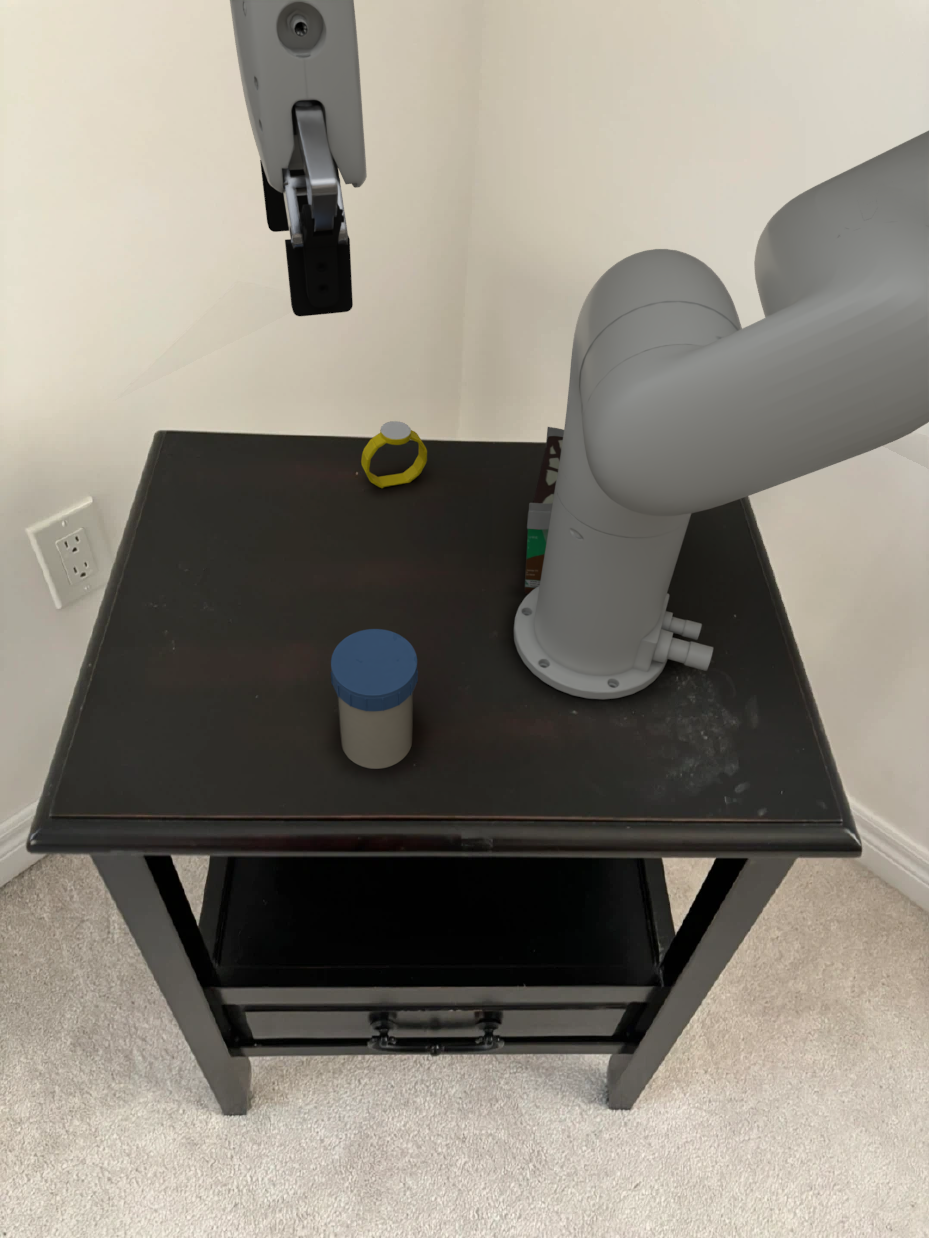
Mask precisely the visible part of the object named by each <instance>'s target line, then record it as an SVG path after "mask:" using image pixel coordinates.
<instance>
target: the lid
mask: <svg viewBox="0 0 929 1238" xmlns="http://www.w3.org/2000/svg"><path fill="white" fill-rule="evenodd" d="M330 669H331V671H330V681H331V686H333V689H334V692H335V693H336V696H337V695H338V697H340V698H341V699H342V700H343V701H344V702H345V703H347V704H348V705H349V706H350V707H351V706H352V707H354V708H357V709H360V710H364V711H384V710H388V709H391V708H393V707H396V706H398V705H400V704H401V703H402V702H404V701H405V700H406V699H407V698H408V697H409V696H410V695H412V692H413V693H414V690H415V688H416V686H417V684H418V680H419V679H418V678H419V670H418V657H417V653H416V650H415V648H414V647H413V645H412V644H411V643H410V642H409V641H408V640H407V639H406V638H405V637H404V636H402V635H400V634H399V633H396V632H394V631H391V630H388V629H381V628H368V629H363V630H359V631H356V632H353V633H351V634H350V635H348V636H346V637H345V638H343V639H342V640H341V641H340V642H339V643H338V644H337V645H336V647H335V648H334V650H333V652H332V654H331V658H330Z"/></svg>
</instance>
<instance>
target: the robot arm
mask: <svg viewBox="0 0 929 1238" xmlns="http://www.w3.org/2000/svg"><path fill="white" fill-rule="evenodd" d="M229 5H230V12H231V21H232V27H233V35H234V44H235V49H236V50H235V51H236V56H237V62H238V68H239V74H240V80H241V86H242V92H243V96H244V101H245V106H246V110H247V116H248V120H249V123H250V128H251V131H252V135H253V138H254V143H255V146H256V149H257V152H258V156H259V162H260V163H259V164H260V172H261V180H262V181H261V182H262V189H263V198H264V207H265V216H266V223H267V226H268V229H269V230H270V231H271V232H273V233H278V232H279V233H280V232H289V238H288V239H284V246H285V257H286V265H287V275H288V286H289V294H290V306H291V310H292V313H293V314H294V316H297V317H309V316H310V317H311V316H319V315H330V314H341V313H348V312H349V311H351V310H352V309H353V305H354V304H353V302H354V301H353V300H354V299H353V281H352V262H351V261H352V259H351V257H352V256H351V240H350V237H349V234H348V225H347V219H346V212H345V207H344V206H345V205H344V198H343V191H342V186H341V178H342V179H343V182H344V185H352V186H353V188H360V187H362V186H363V184H364V183H365V182H366V179H367V177H368V176H367V175H368V173H367V160H366V158H367V157H366V145H365V144H366V143H365V130H364V116H363V115H364V114H363V99H362V86H361V69H360V57H359V43H358V31H357V20H356V11H355V0H229ZM340 176H341V178H340ZM753 261H754V280H755V284H756V288H757V292H758V297H759V301H760V305H761V308H762V311H763V314H764V318H762V319H760V320H757V321H756V322H754V323H751V324H749V325H747V326H745V327H743V326H742V324H741V321H740V317H739V314H738V311H737V309H736V306H735V302H734V301H733V298H732V296H731V294H730V293H729V290H728V288H727V287H726V285H725V283H724V282H723V281H722V279H721V278H720V276H719V275H718V274H717V273H716V272H715V271H714V270H713V269H712V268H711V267H710V266H709V265H708V264H707V263H705V262H704V261H702V260H701V259H700V258H697V257H695V256H693V255H691V254H688V253H686V252H683V251H680V250H676V249H669V248H654V249H646V250H643V251H642V250H641V251H639V252H636V253H633V254H630V255H628V256H626V257H624V258H622V259H621V260H620V261H617V262H616V263H614V265H612V266H611V267H609V268H608V269H607V270H606V271H605V272H604V273H603V274H602V275H601V276H600V277H599V279H598V280H597V281H596V282H595V283H594V284H593V286H592V287H591V289H590V291H589V292H588V294H587V296H586V298H585V300H584V301H583V303H582V306H581V309H580V311H579V313H578V317H577V321H576V324H575V329H574V335H573V340H572V341H573V342H572V348H571V349H572V350H571V356H570V357H571V358H570V369H569V382H568V390H567V391H568V393H567V403H566V411H565V419H564V429H563V430H564V435H563V442H562V449H561V456H560V462H559V469H558V475H557V481H556V486H555V492H554V498H553V505H552V511H551V517H550V524H549V530H548V536H547V543H546V549H545V555H544V562H543V568H542V574H541V581H540V586H538V587H537V588H535V589H534V590H532V591H531V592H530V593H527V595H525V597H524V598H523V600H522V602H520V604H519V606H518V608H517V610H516V614H515V617H514V622H513V623H514V624H513V641H514V645H515V648H516V651H517V654H518V655H519V657H520V659H521V661H522V662H523V664H524V665H525V666H526V667H527V668H528V670H529V671H530V672H531V673H532V674H533V675H534V676H536V677H537V678H538V679H539V680H540V681H542V682H543V683H545V684H546V685H549V686H550V687H552V688H553V689H555V690H558V691H560V692H563V693H565V694H568V695H570V696H573V697H580V698H582V699H583V698H584V699H590V700H610V699H611V700H612V699H620V698H623V697H627V696H631V695H633V694H635V693H638V692H640V691H642V690H644V689H646V688H647V687H648V686H649V685H651V684H652V683H654V681H656V679H658V677H659V676H660V675H661V674H662V673H663V670H664V668H665V666H666V665H667V662H668V660H670V661H673V662H677V663H681V664H683V665H684V666H685V667H689V668H693V669H696V670H700V671H703V672H707V671H708V670H709V666H710V663H711V661H712V657H713V653H714V646H710V645H706V644H703V643H700V642H699V643H698V642H696V641H698V639H699V638H700V637H699V636H700V633H701V630H702V626H703V624H702V623H700V622H696V621H692V620H688V619H682V618H679V617H675V616H673V614H674V612H671V611H668V610H667V607H668V603H669V600H670V594H669V593H668V591H669V589H670V588H669V587H670V584H671V582H672V578H673V575H674V571H675V568H676V564H677V563H678V559H679V555H680V553H681V549H682V545H683V543H684V539H685V535H686V534H687V533H686V532H687V529H688V526H689V522H690V520H691V515H692V514H694V513H700V512H704V511H708V510H710V509H714V508H717V507H720V506H721V507H722V506H724V505H726V504H730V503H732V502H735V501H739V500H741V499H743V498H746V497H749V496H752V495H754V494H758V493H760V492H763V491H765V490H769V489H771V488H773V487H776V486H779V485H782V484H785V483H788V482H791V481H792V480H795V479H799V478H801V477H803V476H807V475H809V474H813V473H815V472H817V471H820V470H823V469H825V468H828V467H831V466H835V465H837V464H839V463H842V462H844V461H847V460H850V459H853V458H855V457H857V456H861V455H864V454H867V453H868V452H872V451H874V450H876V449H879V448H881V447H884V446H885V445H888V444H890V443H893V442H896V441H897V440H900V439H902V438H904V437H906V436H908V435H910V434H912V433H914V432H916V431H917V430H918V429H920V428H922V427H923V426H925V425H926V424H928V423H929V130H926V131H925V132H922V133H921V134H918V135H917V136H914V137H913V138H911V139H908V140H906V141H904V142H902V143H900V144H898V145H896V146H894V147H892V148H890V149H888V150H886V151H884V152H882V153H880V154H877V155H875V156H873V157H872V158H869V159H867V160H865V161H864V162H862V163H860V164H857V165H855V166H853V167H851V168H849V169H846V171H843V172H841V173H839V174H837V175H835V176H833V177H831V178H829V179H827V180H825V181H823V182H820V183H818V184H816V185H814V186H813V187H811V188H809V189H807V190H805V191H803V192H802V193H800V194H798V195H796V196H795V197H794V198H792V199H790V200H789V201H788V202H786V203H785V204H784V205H782V206H781V208H779V209H778V211H776V212H775V213H774V214H773V215H772V216H771V218H770V219H769V220H768V221H767V223H766V225H765V226H764V228H763V230H762V232H761V233H760V236H759V238H758V240H757V244H756V249H755V254H754V260H753ZM674 634H675V635H679V636H681V637H683V638H686V639H687V638H688V639H691V641H687V640H683V639H681V638H680V639H679V638H676V637H673V636H674ZM692 640H695V641H692Z"/></svg>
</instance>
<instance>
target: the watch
mask: <svg viewBox="0 0 929 1238" xmlns="http://www.w3.org/2000/svg"><path fill="white" fill-rule="evenodd" d="M409 441H413V442H416V443H417V444H418V454H417V457H416V458H415V460H414V462H413V464H412V465H411V466H409V468H407V469H406V470H405V471H404V472H400V473H395V474H387V475H381V476H377V475H376V474H374V473H372V472H371V471H370V468H371V460H372V458H373V457H374V455H375V454H376V452H377V451H378V449H380V448H381V447H384V445H386V444H388V445H392V446H401V445H405V444H407V443H408V442H409ZM360 459H361V460H360V463H361V464H360V465H361V467H362V469H363V471H364V473H365V475H366V477H367V479H368V481H369V482H370V483H371V484H372V485H375V486H376V487H378V488H379V489H380V488H381V489H384V488H388V487H392V486H398V485H404V484H410V483H411V482H412V481H414V480H415V479H416V478H418V477H419V476H420V474H421V473H422V471H423V470H424V468H425V466H426V464H427V462H428V449H427V447H426V445H425V444H424V442H423V440H422V439H421V437H420V436H419V434H418V433H417V432H416V431H415V430H412V429H411V427H410V426H409V425H408V424H407V423H405V422H403V421H400V420H399V421H398V420H390V421H387V422H385V423H383V424H382V425H381V427H380V429H379V433H377V434H375V435H374V436H373V437H371V439H369V441H368V442H367V444H366V445H365V446H364V448H363V451H362V453H361V458H360Z"/></svg>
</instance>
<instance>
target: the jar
mask: <svg viewBox="0 0 929 1238" xmlns="http://www.w3.org/2000/svg"><path fill="white" fill-rule="evenodd" d="M336 697H337V698H336V699H337V709H338V720H339V721H338V722H339V732H340V744H341V748H342V751H343V752H344V754H345V755H346V757H347V758H348V759H349V760H350V761H352V762H353V763H354V764H356V765H358V766H360V767H362V768H366V769H372V770H378V769H386V768H389V767H392V766H395V765H396V764H398V763H400V762H401V761H402V760H403V759H404V758H405V757H406V756H408V753H409V752H410V750H411V747H412V744H413V731H414V729H413V727H414V726H413V725H414V691H413V692H412V695H410V696H409V697H408V698H407V699H406V700H405V701H404V702H402V703H401V704H400V705H398V706H396V707H393V708H391V709H388V710H384V711H364V710H360V709H357V708H354V707H352V706H351V707H350V706H349V705H348V704H347V703H345V702H344V701H343V700H342V699H341V698H340V697H338V695H337V694H336Z"/></svg>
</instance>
